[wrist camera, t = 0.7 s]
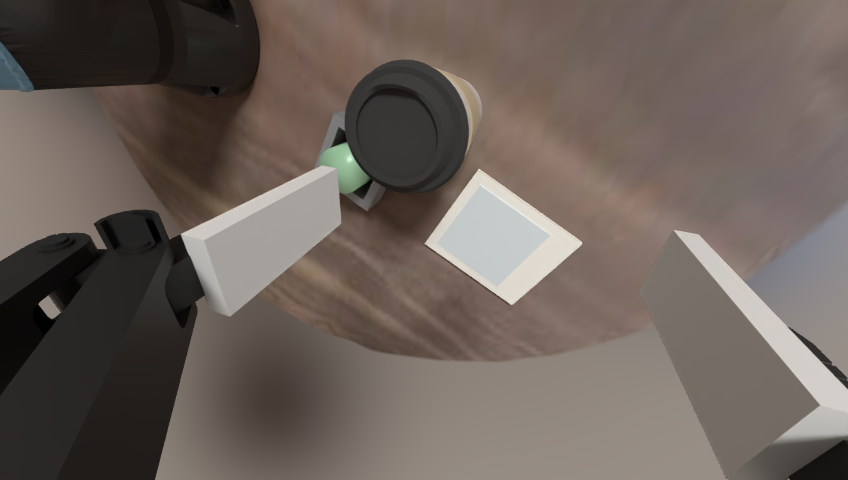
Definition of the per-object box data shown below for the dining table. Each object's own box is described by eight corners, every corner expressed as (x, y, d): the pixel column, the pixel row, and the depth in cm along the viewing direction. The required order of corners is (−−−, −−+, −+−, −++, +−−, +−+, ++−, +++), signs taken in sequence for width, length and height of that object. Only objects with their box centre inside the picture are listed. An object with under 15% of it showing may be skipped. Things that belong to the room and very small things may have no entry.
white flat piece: (426, 241, 41) (424, 244, 40) (478, 168, 34) (477, 170, 34) (512, 302, 41) (511, 305, 40) (581, 241, 34) (582, 244, 34)
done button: (333, 166, 38) (313, 176, 34) (348, 131, 35) (327, 137, 31) (367, 190, 38) (350, 202, 34) (384, 156, 35) (367, 165, 32)
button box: (329, 165, 40) (312, 172, 37) (350, 109, 36) (334, 112, 33) (379, 200, 40) (367, 211, 37) (407, 149, 36) (395, 156, 33)
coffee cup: (485, 161, 34) (452, 216, 21) (407, 150, 36) (336, 193, 23) (500, 66, 29) (470, 64, 17) (410, 59, 31) (324, 53, 19)
